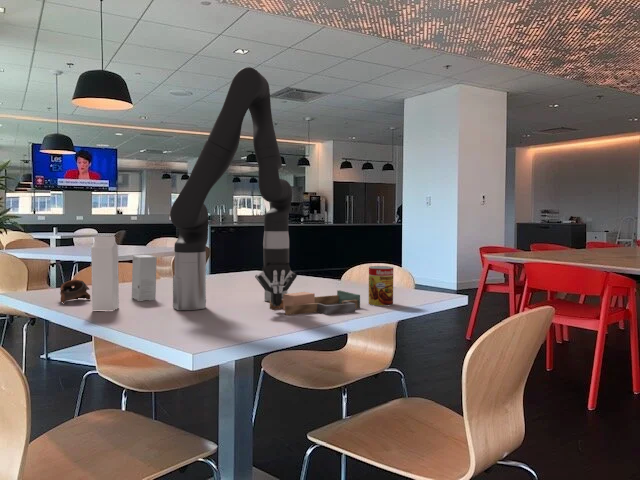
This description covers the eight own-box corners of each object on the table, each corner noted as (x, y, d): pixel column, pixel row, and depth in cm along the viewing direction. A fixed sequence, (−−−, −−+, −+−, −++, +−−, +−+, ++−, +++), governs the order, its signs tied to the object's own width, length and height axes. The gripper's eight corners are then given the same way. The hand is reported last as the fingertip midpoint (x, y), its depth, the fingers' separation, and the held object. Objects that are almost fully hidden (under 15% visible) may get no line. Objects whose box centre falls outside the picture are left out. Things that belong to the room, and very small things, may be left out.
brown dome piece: (99, 301, 173) (94, 282, 168) (75, 318, 166) (69, 298, 161) (73, 290, 177) (68, 271, 173) (50, 306, 170) (43, 286, 166)
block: (293, 313, 151) (293, 296, 151) (283, 310, 155) (283, 294, 155) (314, 310, 157) (314, 293, 156) (304, 307, 160) (304, 291, 160)
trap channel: (294, 317, 143) (294, 303, 143) (263, 306, 162) (263, 293, 162) (369, 310, 155) (369, 297, 155) (332, 300, 174) (332, 288, 174)
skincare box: (131, 298, 177) (130, 255, 176) (148, 297, 181) (148, 254, 180) (139, 301, 170) (138, 256, 170) (157, 300, 174) (157, 255, 173)
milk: (98, 308, 157) (97, 236, 157) (119, 308, 158) (118, 235, 157) (91, 311, 151) (90, 236, 150) (113, 311, 152) (112, 236, 151)
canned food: (381, 307, 161) (382, 268, 161) (363, 303, 167) (363, 266, 167) (398, 304, 167) (398, 267, 166) (379, 301, 172) (380, 265, 172)
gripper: (260, 248, 145) (260, 309, 145) (302, 246, 151) (302, 305, 152) (250, 246, 151) (250, 305, 152) (291, 245, 158) (291, 302, 158)
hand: (276, 305), depth 152 cm, fingers closed
